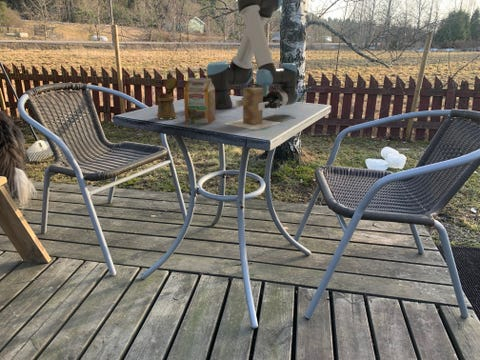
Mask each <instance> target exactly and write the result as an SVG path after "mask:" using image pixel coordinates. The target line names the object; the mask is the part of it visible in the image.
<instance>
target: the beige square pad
mask: <svg viewBox="0 0 480 360" xmlns="http://www.w3.org/2000/svg"><path fill="white" fill-rule="evenodd" d="M279 124H281V122H280V121H274V120H267V119H262V123H261V124H257V125H249V124H244V123H243V118H241V119H238V120H234V121H230V122H226V123H225V122H224V125H227V126H233V127H239V128H245V129H249V130H254V131H258V130H262V129H264V128H268V127H271V126H275V125H279Z"/></svg>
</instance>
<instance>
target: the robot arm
mask: <svg viewBox="0 0 480 360" xmlns="http://www.w3.org/2000/svg"><path fill="white" fill-rule="evenodd" d="M282 3H283V0H237V10H238V12H239V15H240V17H242V19H243V21H244V25H245V29H244V31H243V32H244V33H243V35H242V38H241V41H240V44H239V47H238V49H237V52H236V55H235V56H233V57H232V58H231V61H230V63H229V61H225V60H221V61H220V60H219V61H213V62H210V63H209V64H207V66H206V78H210V79H211V82H212V84H213V85H214V88H215V110H225V109H226V110H227V109H231V108H233V102H232V98H231V95H230V94H231V93H230V87H234V86H235V87H236V86H245V85H248V84H249V83H251V82H252V80H253V78H254V68H253V63H252V62H253V58H254V59H255V62H256V66H257V69H258V70H257V71H256V73H255V81H256V83H257V85H260V86H269V87H270V86H271V87H272V86H279V90H274V91H269V92H268V94H267V95H266V96H264V97H263V103H259V105H258V110H267V109H268V110H269V109H281V107H284V106H290V105H294V104H295V103H297V102H298V100H299V99H300V94H299V91H298V89H297V86H296V85H297V73H298V72H297V69H298V68H297V64H296V63H291V62H284V63H281V64H280V67H279V68H276V67H275V64H274V59H273V57H272V52H271V49H270V45H269V43H268V39H267V35H266V32H265V27H266V24H267V21H268V20H269V19H271V18H272V16H273V14H274V12H277V11H278V10H280V8H281V6H282V5H283V4H282ZM235 107H236V108H239V107H243V97H241V99H237V100H235Z"/></svg>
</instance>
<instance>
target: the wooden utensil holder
mask: <svg viewBox="0 0 480 360" xmlns="http://www.w3.org/2000/svg"><path fill="white" fill-rule="evenodd" d="M177 86H178V80H177V79H176V77H175V76H172V77H169V78H168V79H167V80H166V81H165V84H164V87H165V89H166V92H165V93H163V92H162V93H158V95H157V114H156V118H157V117H158V118H163V119H170V118H175V117H176V118H177V114H176V111H175V106H174V97H173V90H175V89H176V87H177ZM176 118H175V119H176Z"/></svg>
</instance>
